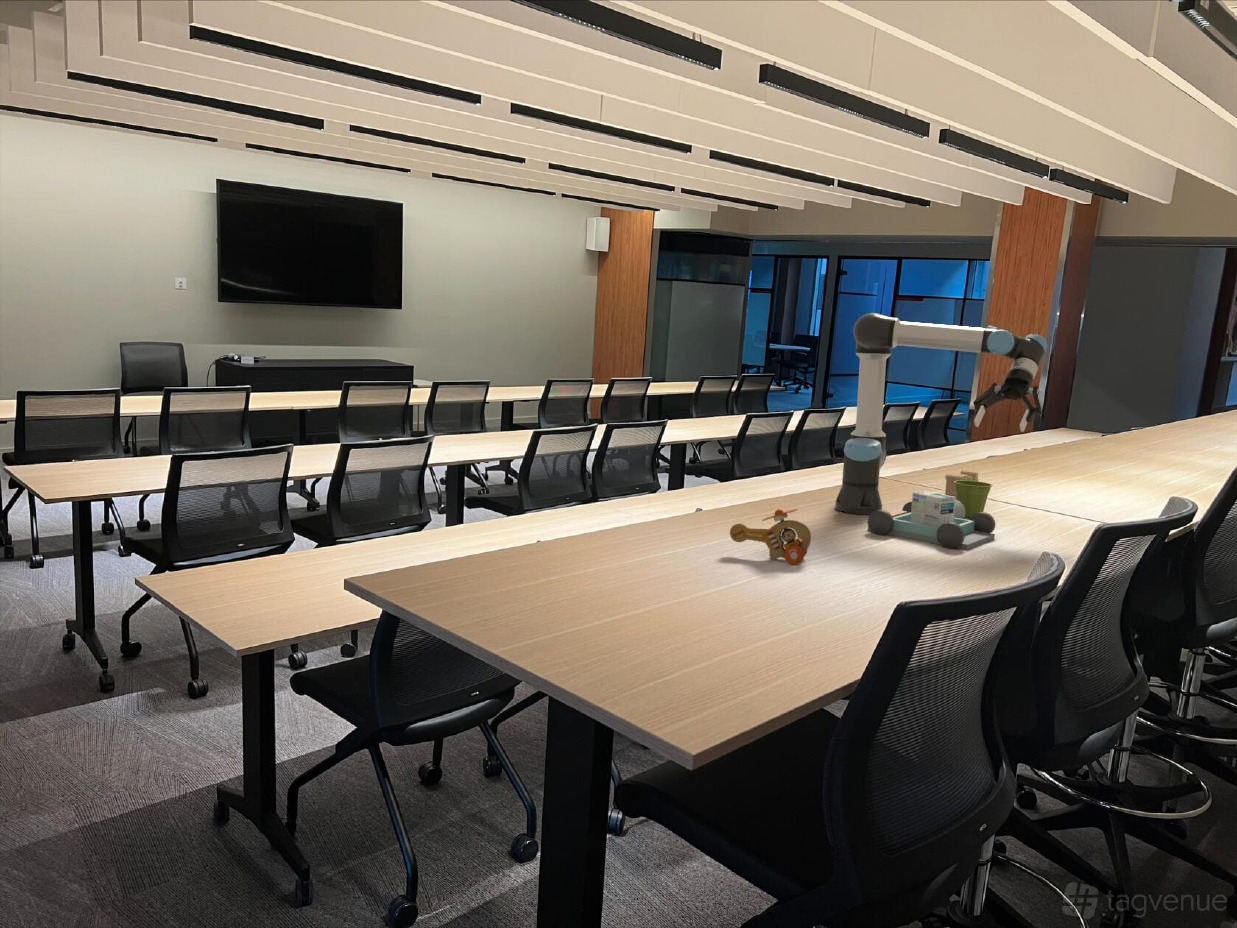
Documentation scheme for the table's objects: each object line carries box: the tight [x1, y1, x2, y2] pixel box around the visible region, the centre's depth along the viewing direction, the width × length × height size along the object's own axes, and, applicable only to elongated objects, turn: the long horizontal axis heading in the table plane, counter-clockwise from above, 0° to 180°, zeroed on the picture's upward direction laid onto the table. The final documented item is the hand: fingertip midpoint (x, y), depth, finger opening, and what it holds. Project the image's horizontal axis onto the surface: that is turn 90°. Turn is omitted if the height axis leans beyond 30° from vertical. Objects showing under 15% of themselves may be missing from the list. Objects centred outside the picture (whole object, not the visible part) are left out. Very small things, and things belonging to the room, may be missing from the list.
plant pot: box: [954, 480, 994, 519], centre depth 297 cm, size 12×12×11 cm
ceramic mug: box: [954, 500, 968, 520], centre depth 283 cm, size 11×8×8 cm
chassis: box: [867, 501, 996, 551], centre depth 268 cm, size 30×25×7 cm
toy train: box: [944, 470, 979, 500], centre depth 326 cm, size 6×17×10 cm, turn 136°
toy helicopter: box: [729, 509, 812, 565], centre depth 234 cm, size 8×21×14 cm, turn 71°
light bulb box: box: [910, 490, 956, 527], centre depth 268 cm, size 11×7×11 cm, turn 33°
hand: (998, 426), depth 276 cm, fingers open, 13 cm apart
